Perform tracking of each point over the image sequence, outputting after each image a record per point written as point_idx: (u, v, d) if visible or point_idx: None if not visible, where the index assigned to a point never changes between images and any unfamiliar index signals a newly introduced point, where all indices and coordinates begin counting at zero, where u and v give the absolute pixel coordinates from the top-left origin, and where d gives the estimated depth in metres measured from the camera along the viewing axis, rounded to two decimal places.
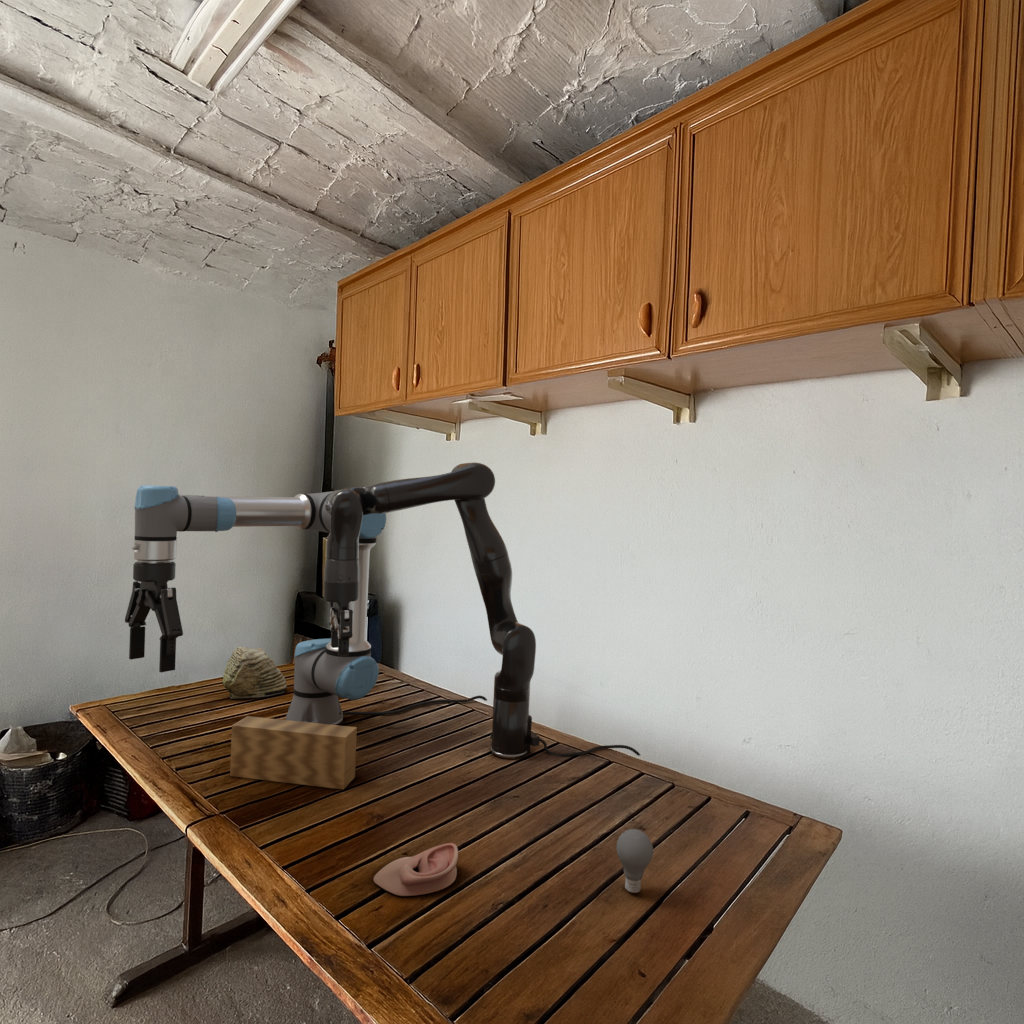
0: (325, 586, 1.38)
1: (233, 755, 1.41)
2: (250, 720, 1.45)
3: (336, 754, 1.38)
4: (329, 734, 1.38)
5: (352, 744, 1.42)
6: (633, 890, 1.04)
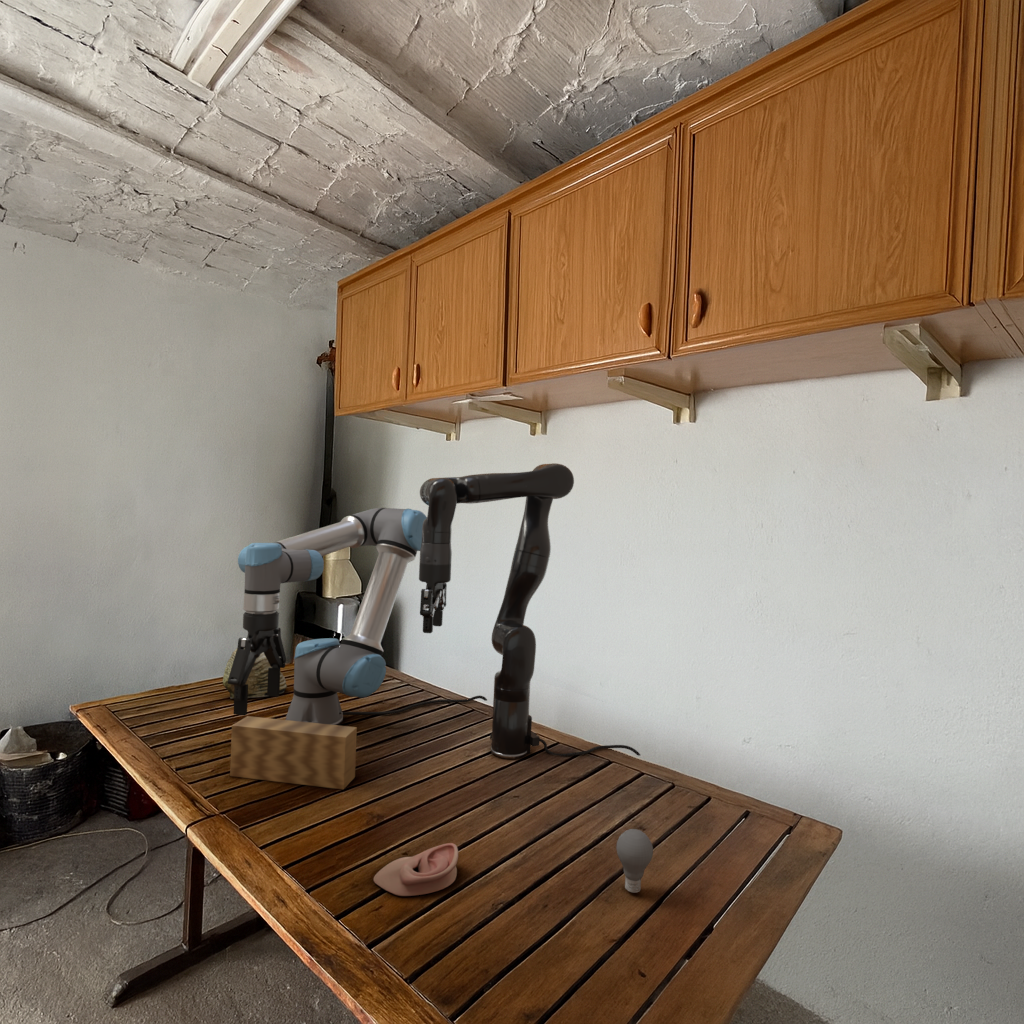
0: (419, 567, 1.50)
1: (233, 755, 1.41)
2: (250, 720, 1.45)
3: (336, 754, 1.38)
4: (329, 734, 1.38)
5: (352, 744, 1.42)
6: (633, 890, 1.04)
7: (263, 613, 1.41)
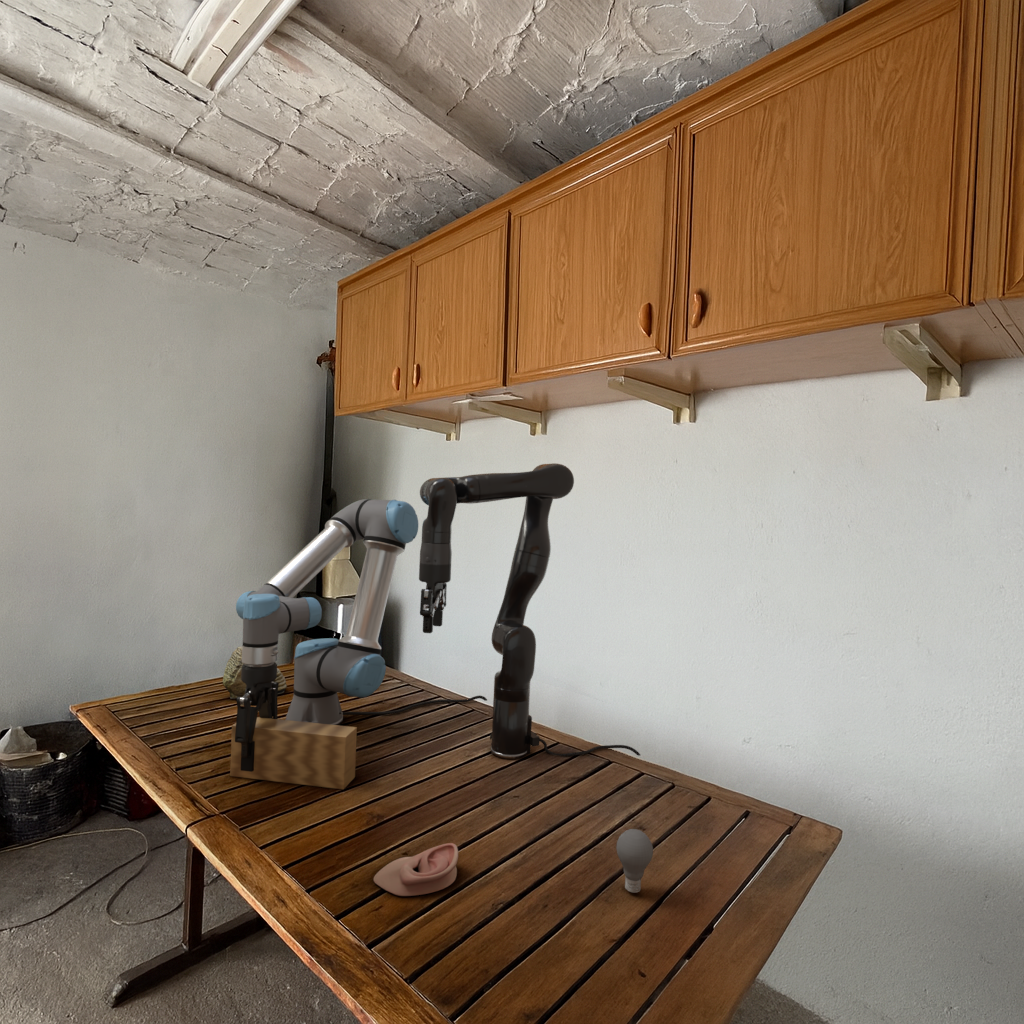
0: (419, 567, 1.50)
1: (233, 755, 1.41)
2: None
3: (336, 754, 1.38)
4: (329, 734, 1.38)
5: (352, 744, 1.42)
6: (633, 890, 1.04)
7: (261, 666, 1.41)
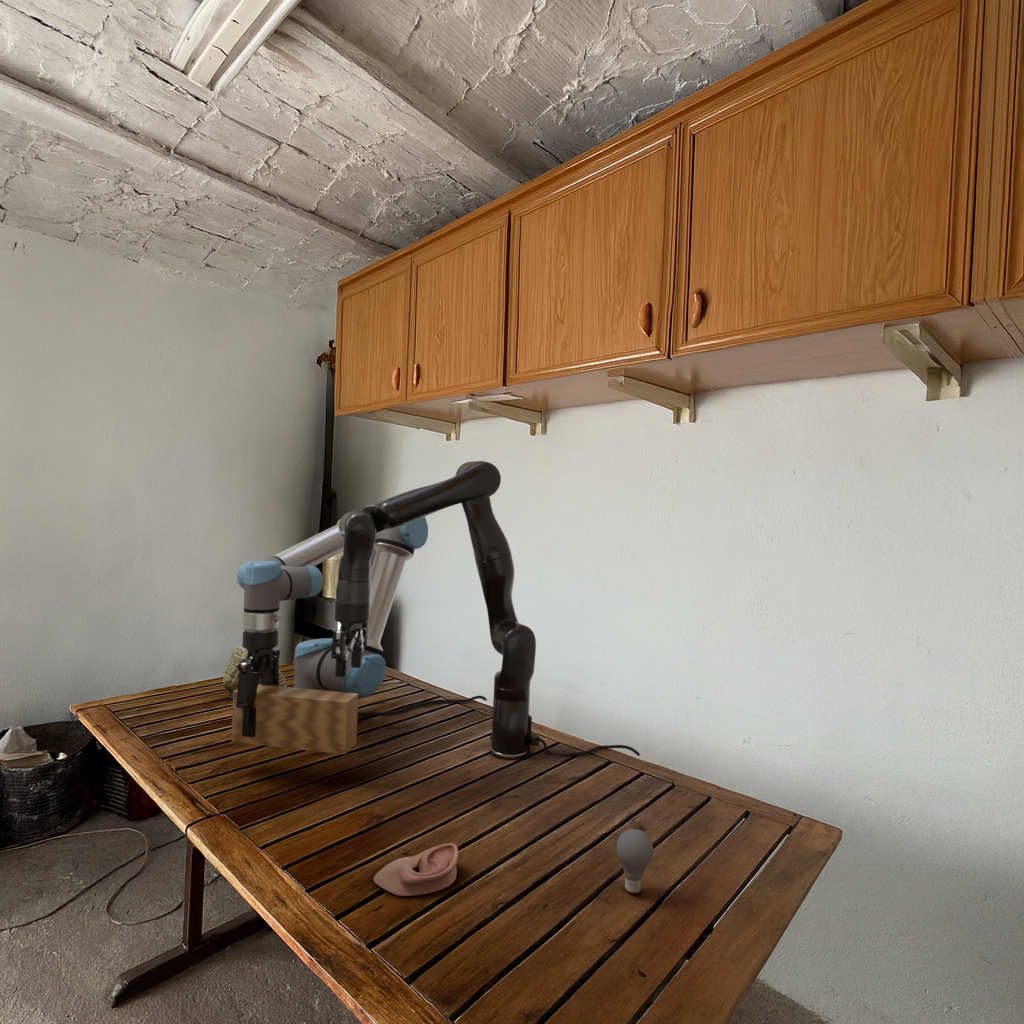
0: None
1: (234, 721, 1.41)
2: None
3: (337, 720, 1.38)
4: (330, 699, 1.38)
5: (354, 710, 1.41)
6: (633, 890, 1.04)
7: (263, 632, 1.41)
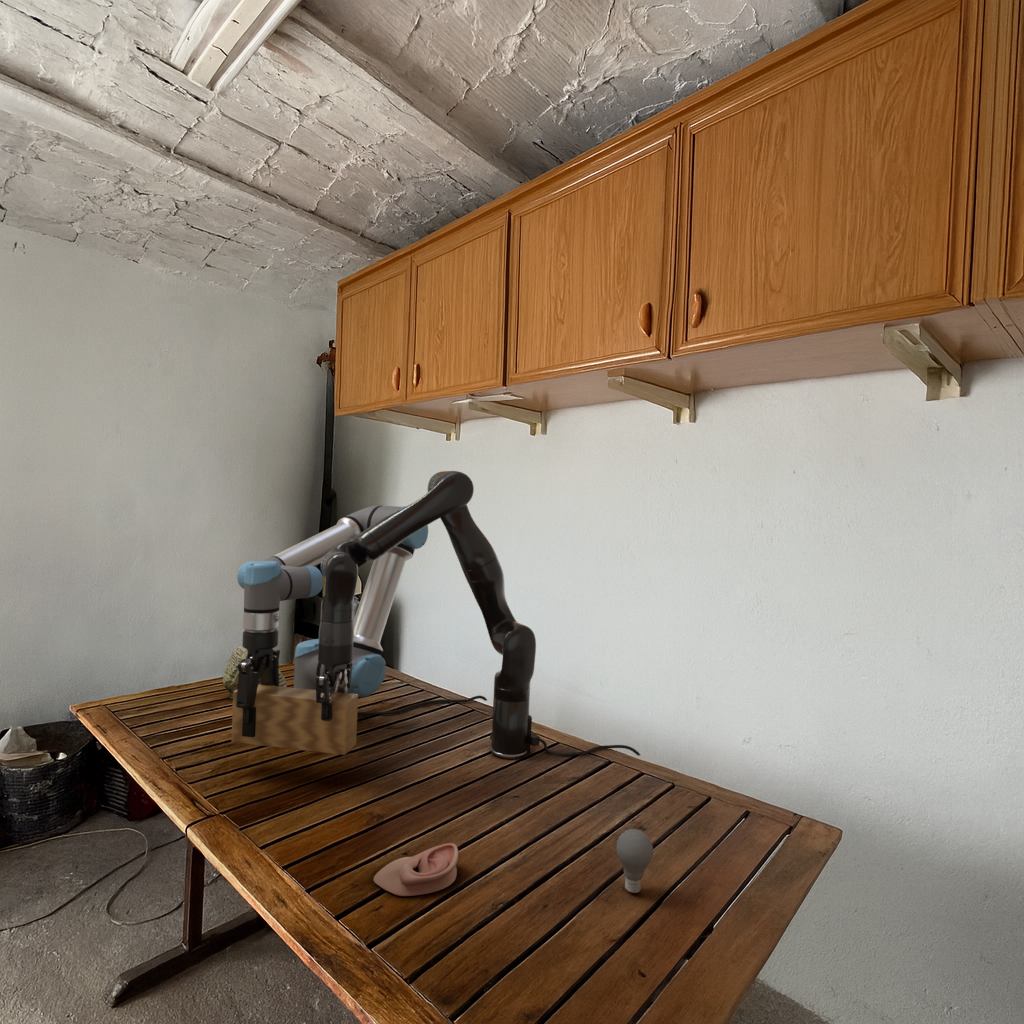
0: None
1: (234, 721, 1.41)
2: None
3: (337, 720, 1.37)
4: None
5: (354, 711, 1.41)
6: (633, 890, 1.04)
7: (262, 632, 1.41)
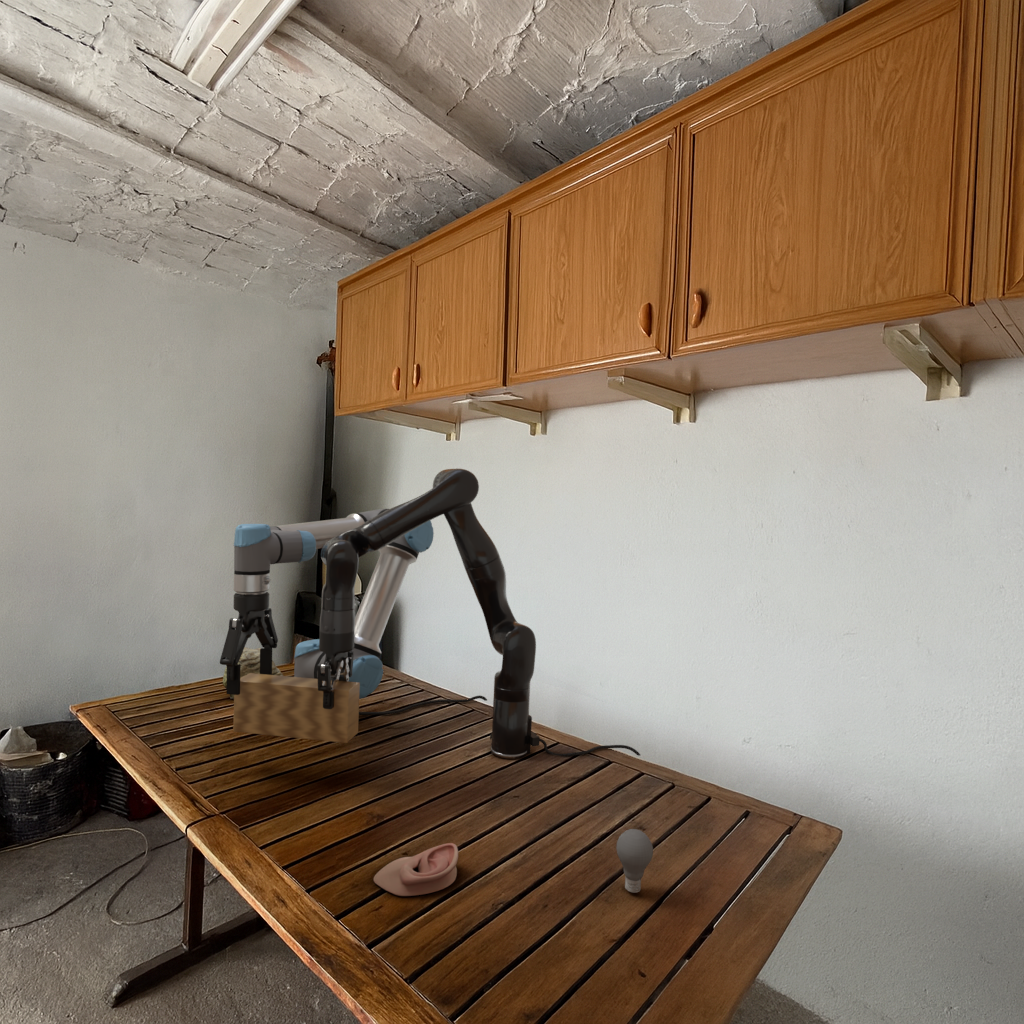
0: None
1: (236, 710, 1.41)
2: (253, 676, 1.44)
3: (339, 708, 1.37)
4: None
5: (356, 699, 1.41)
6: (633, 890, 1.04)
7: (253, 594, 1.41)
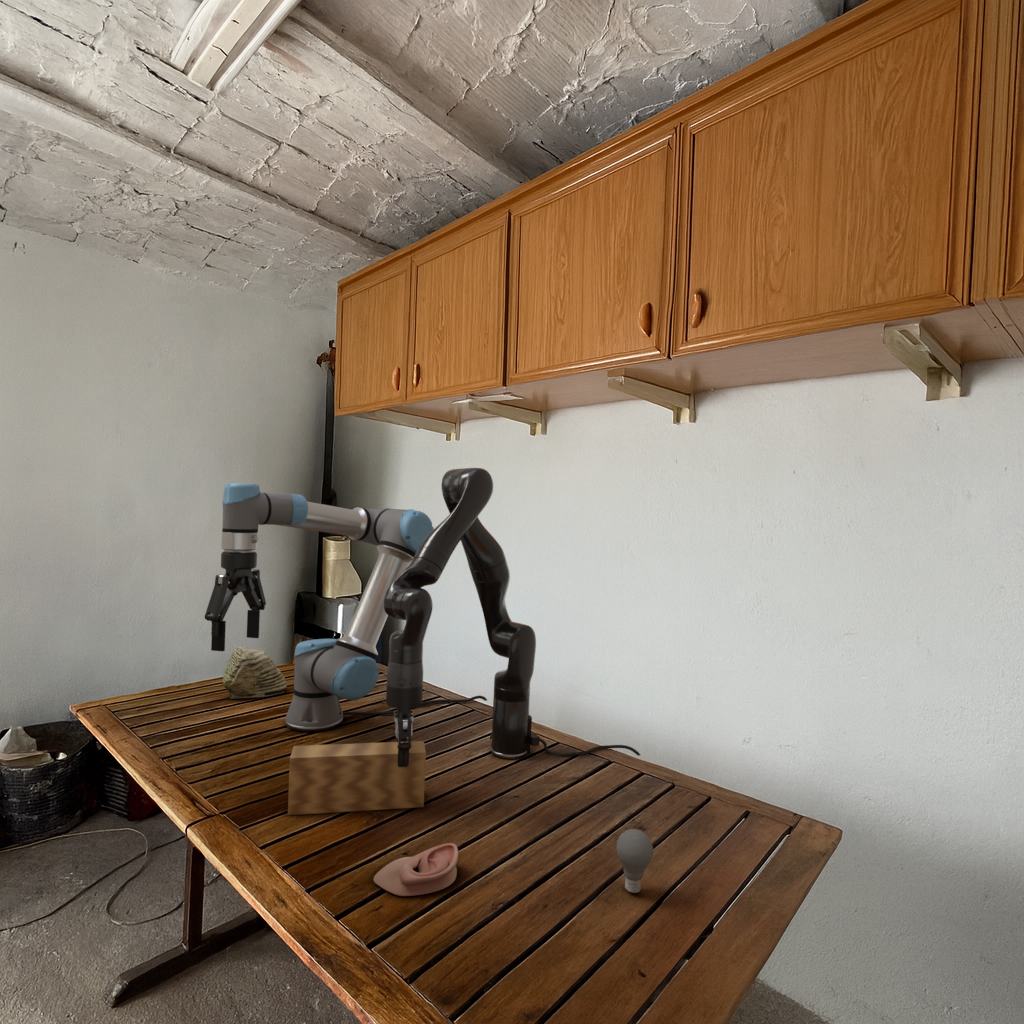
0: (387, 689, 1.31)
1: (292, 791, 1.26)
2: (303, 750, 1.29)
3: (415, 772, 1.31)
4: None
5: None
6: (633, 890, 1.04)
7: (241, 551, 1.41)
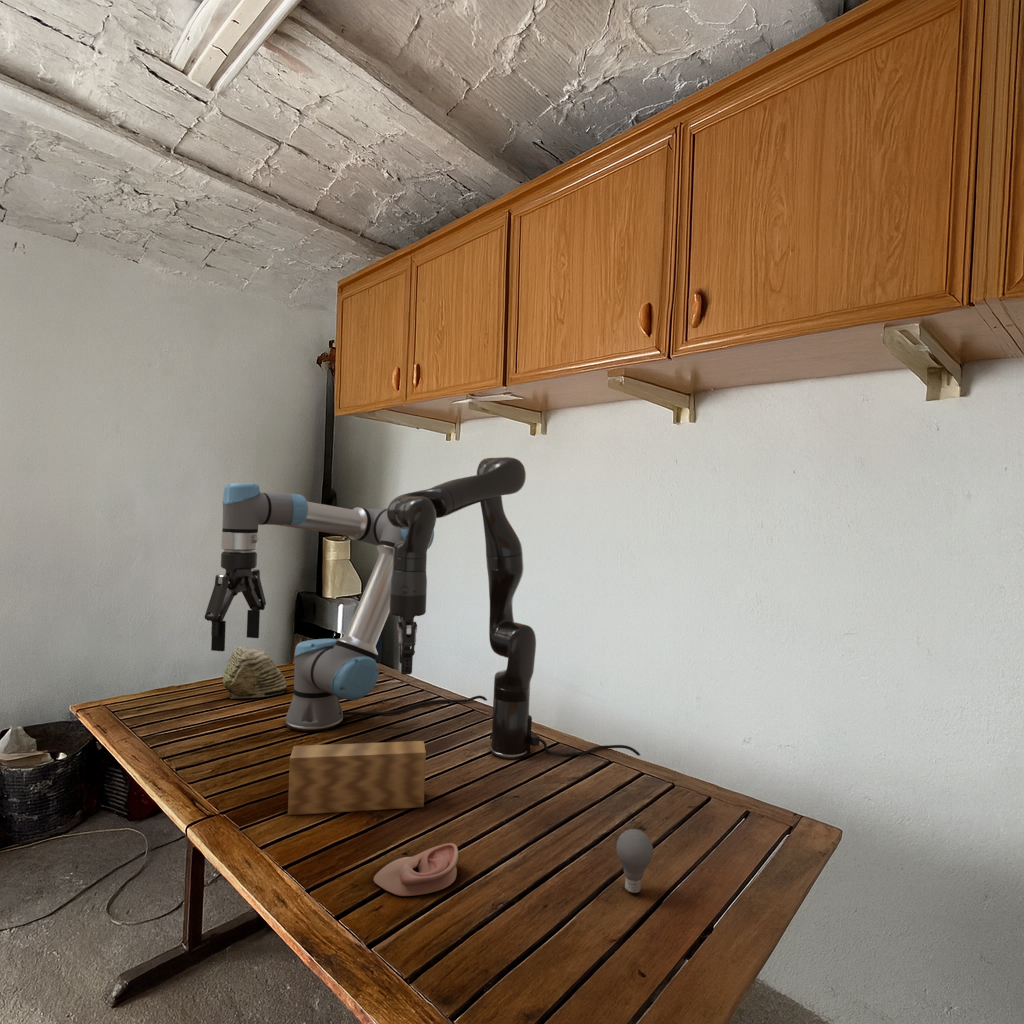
0: (390, 598, 1.31)
1: (292, 791, 1.26)
2: (303, 750, 1.29)
3: (415, 772, 1.31)
4: (406, 752, 1.31)
5: None
6: (633, 890, 1.04)
7: (241, 551, 1.41)
